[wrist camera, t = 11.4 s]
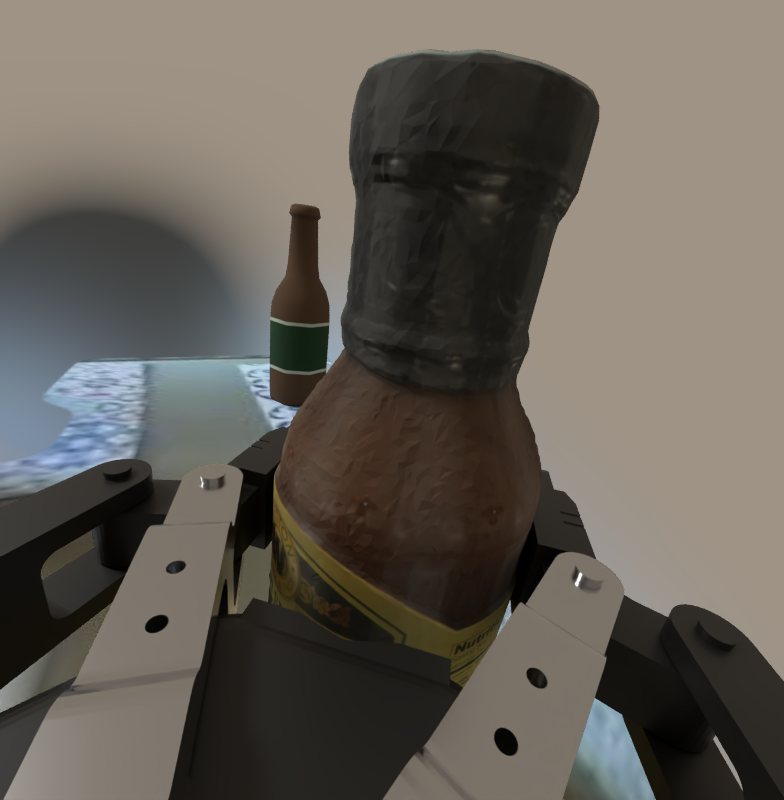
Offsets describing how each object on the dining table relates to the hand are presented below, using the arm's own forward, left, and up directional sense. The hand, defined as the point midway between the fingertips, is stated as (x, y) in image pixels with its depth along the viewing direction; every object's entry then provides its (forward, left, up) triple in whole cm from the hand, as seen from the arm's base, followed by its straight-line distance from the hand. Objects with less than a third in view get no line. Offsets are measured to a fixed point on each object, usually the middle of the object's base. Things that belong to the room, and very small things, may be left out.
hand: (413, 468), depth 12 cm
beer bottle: (-36, +21, -15) cm, 44 cm away
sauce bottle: (+1, -2, -11) cm, 11 cm away
